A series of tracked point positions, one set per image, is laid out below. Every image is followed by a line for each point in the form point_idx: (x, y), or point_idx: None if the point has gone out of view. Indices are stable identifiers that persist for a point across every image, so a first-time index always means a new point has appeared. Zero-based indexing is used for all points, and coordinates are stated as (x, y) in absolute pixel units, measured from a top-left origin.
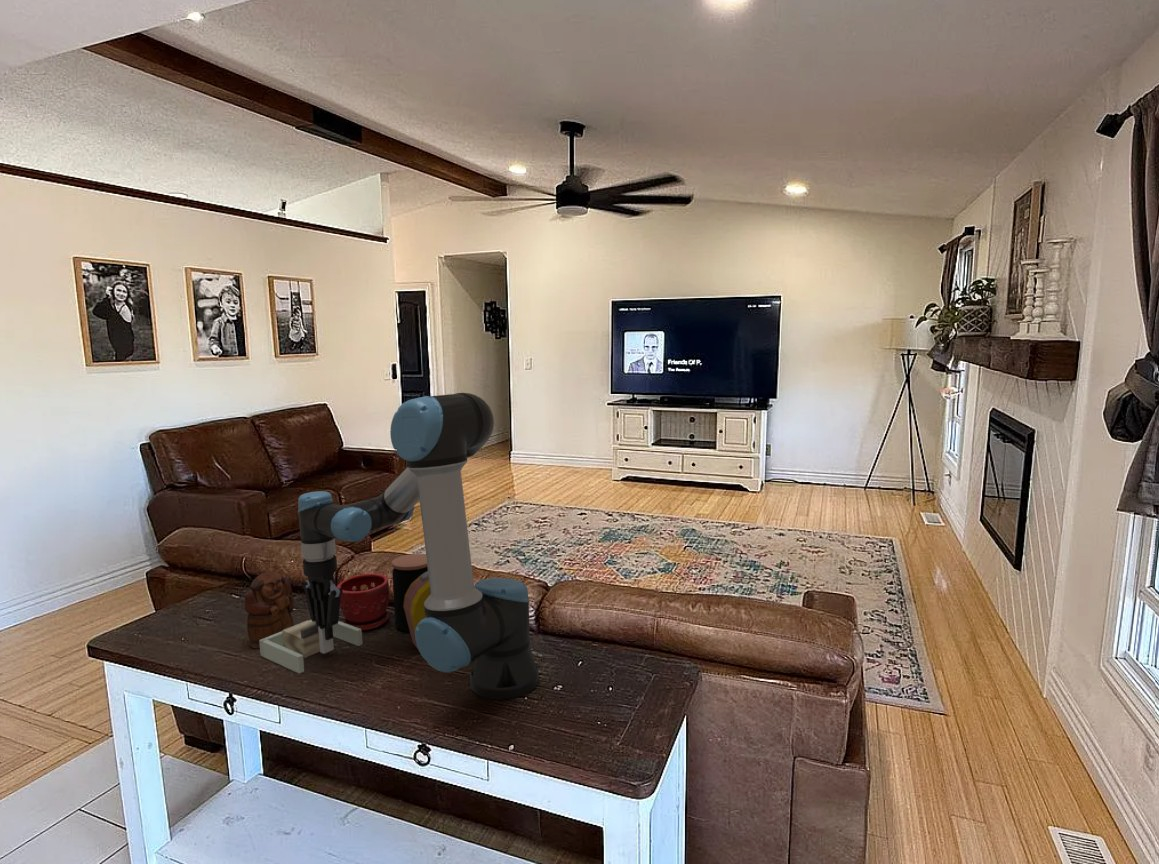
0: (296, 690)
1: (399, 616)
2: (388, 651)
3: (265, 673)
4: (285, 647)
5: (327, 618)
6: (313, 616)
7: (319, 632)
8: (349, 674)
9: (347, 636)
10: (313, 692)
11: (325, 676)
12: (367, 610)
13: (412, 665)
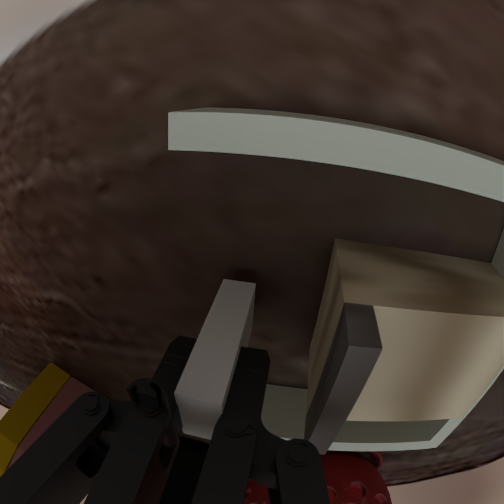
0: (95, 26)
1: (178, 473)
2: (109, 364)
3: (381, 31)
4: (484, 265)
5: (72, 444)
6: (277, 478)
7: (219, 368)
8: (53, 218)
9: (270, 402)
10: (42, 68)
11: (94, 160)
12: (250, 494)
13: (19, 318)
